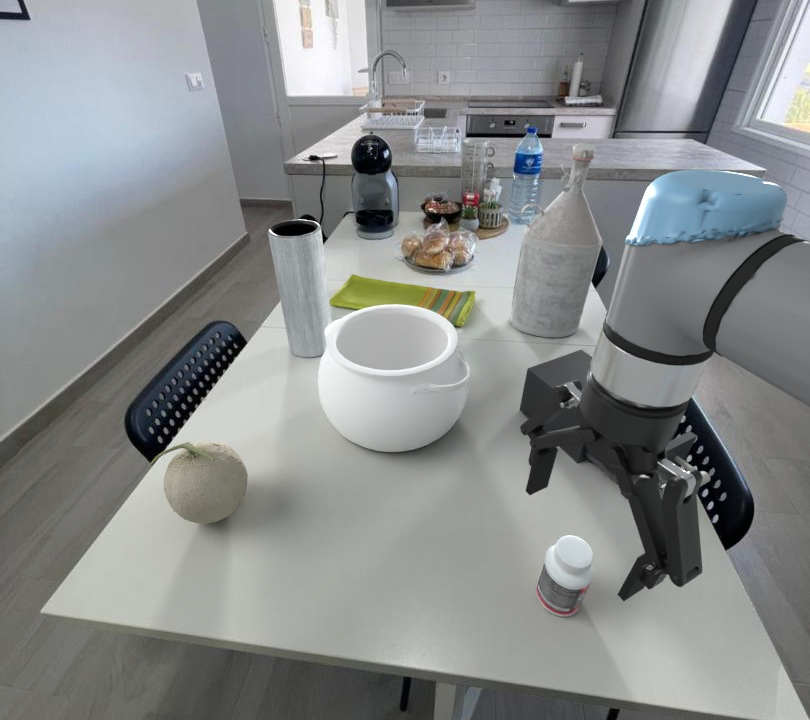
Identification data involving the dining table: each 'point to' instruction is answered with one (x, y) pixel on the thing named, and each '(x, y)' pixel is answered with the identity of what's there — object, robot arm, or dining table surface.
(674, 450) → the pulled-out drawer
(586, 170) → the grey jug
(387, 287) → the dish towel
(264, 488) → the dining table surface
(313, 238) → the vase
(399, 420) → the pot
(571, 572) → the pill bottle
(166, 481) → the fruit
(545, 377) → the grey drawer box
